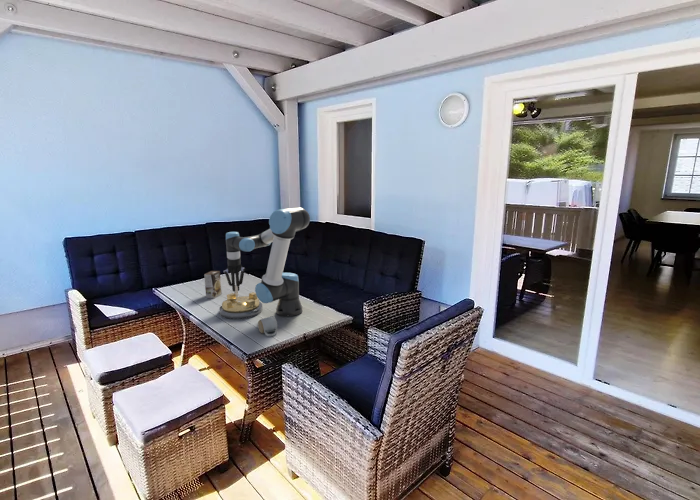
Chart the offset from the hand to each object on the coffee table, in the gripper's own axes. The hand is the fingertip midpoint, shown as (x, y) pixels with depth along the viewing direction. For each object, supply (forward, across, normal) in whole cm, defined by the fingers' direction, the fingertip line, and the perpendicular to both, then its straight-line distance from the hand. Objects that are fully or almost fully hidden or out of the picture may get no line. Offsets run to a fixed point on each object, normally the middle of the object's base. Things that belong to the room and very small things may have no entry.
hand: (236, 296), depth 221 cm
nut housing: (+7, 0, +9) cm, 11 cm away
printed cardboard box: (+7, +7, -28) cm, 29 cm away
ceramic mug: (+7, -3, +45) cm, 46 cm away
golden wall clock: (+4, 0, +9) cm, 10 cm away
